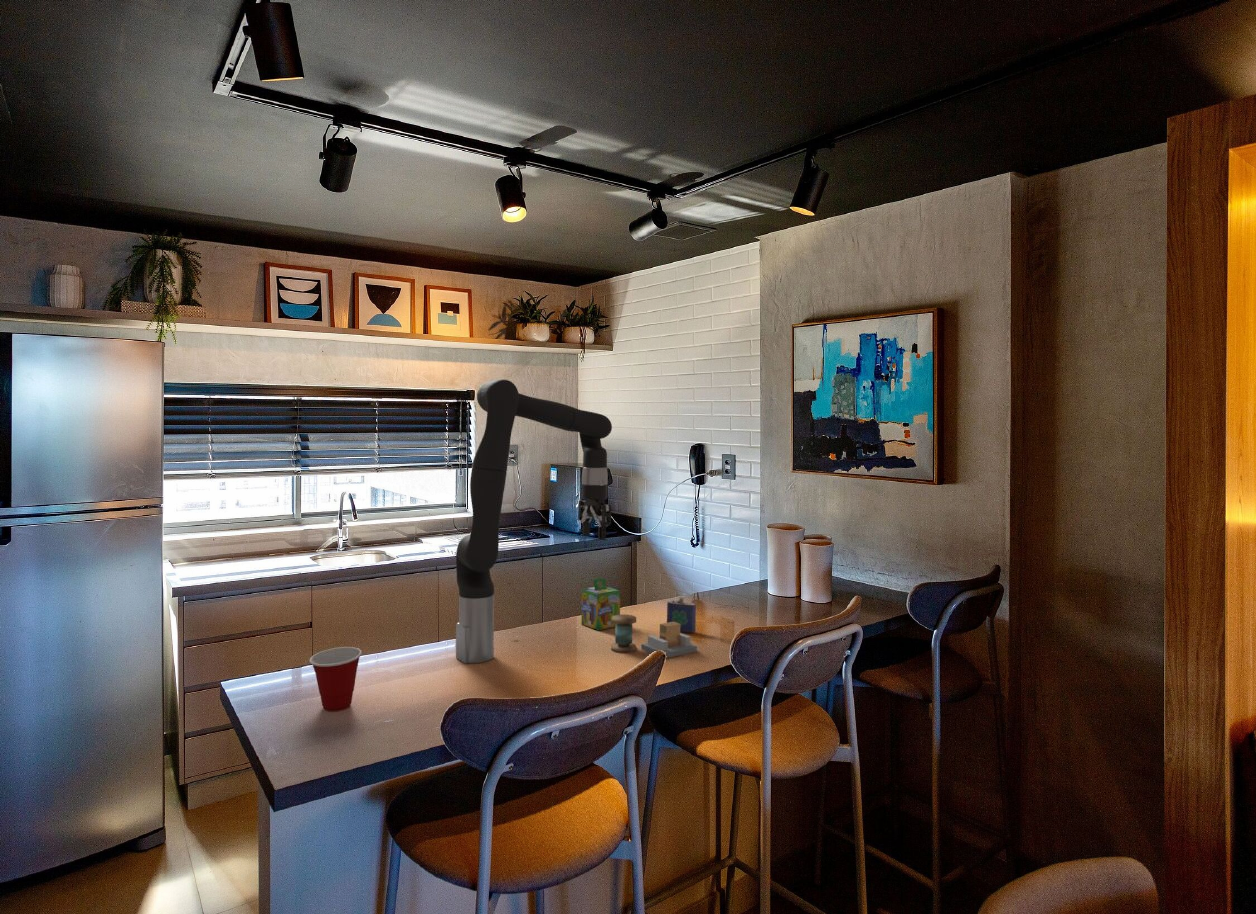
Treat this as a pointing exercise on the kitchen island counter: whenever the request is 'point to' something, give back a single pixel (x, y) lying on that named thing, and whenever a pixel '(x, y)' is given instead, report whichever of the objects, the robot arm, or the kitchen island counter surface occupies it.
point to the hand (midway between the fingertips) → (594, 537)
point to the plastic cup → (336, 676)
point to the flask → (682, 615)
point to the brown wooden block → (670, 633)
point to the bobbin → (623, 633)
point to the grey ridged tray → (661, 644)
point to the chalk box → (600, 606)
